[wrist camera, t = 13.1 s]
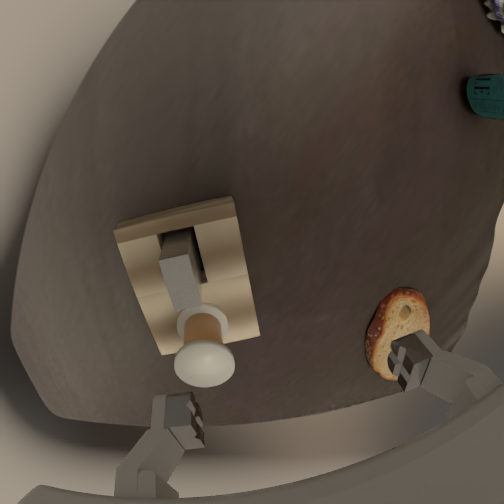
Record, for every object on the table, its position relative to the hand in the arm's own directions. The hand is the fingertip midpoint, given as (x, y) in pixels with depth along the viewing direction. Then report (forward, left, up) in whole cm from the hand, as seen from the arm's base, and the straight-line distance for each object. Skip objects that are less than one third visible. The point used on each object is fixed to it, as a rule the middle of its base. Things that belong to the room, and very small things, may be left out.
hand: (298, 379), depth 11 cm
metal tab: (+2, -6, -23) cm, 23 cm away
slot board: (+6, -6, -23) cm, 24 cm away
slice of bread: (+26, +23, -23) cm, 41 cm away
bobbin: (+10, -6, -20) cm, 23 cm away
